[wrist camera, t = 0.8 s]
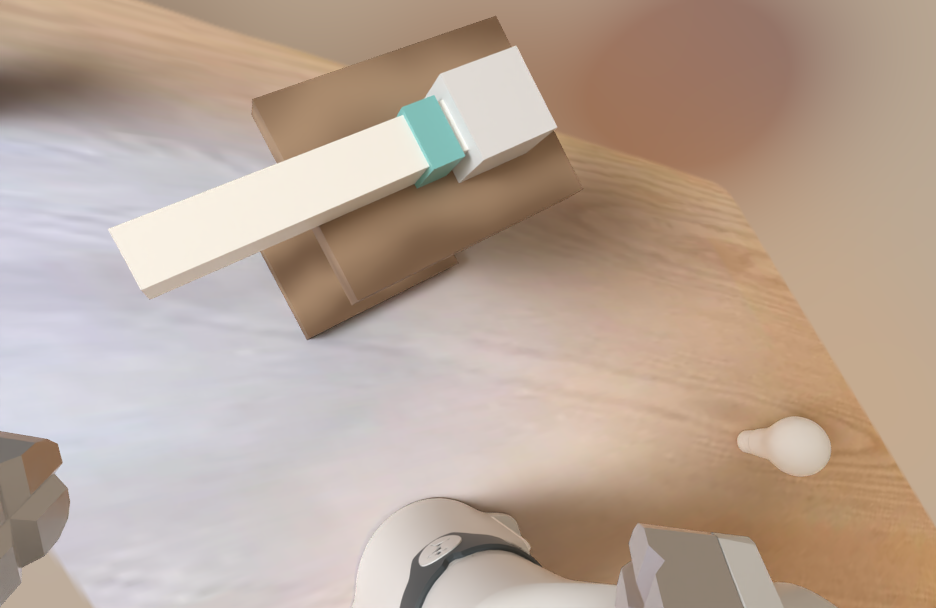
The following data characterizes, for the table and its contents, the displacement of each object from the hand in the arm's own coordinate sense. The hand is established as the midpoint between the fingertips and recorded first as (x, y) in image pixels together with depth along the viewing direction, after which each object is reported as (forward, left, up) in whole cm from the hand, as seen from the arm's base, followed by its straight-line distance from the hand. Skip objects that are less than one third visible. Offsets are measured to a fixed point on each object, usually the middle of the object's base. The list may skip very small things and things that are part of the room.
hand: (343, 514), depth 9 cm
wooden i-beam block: (+10, -15, -50) cm, 53 cm away
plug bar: (+10, -9, -24) cm, 28 cm away
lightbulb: (-29, -45, -51) cm, 74 cm away
